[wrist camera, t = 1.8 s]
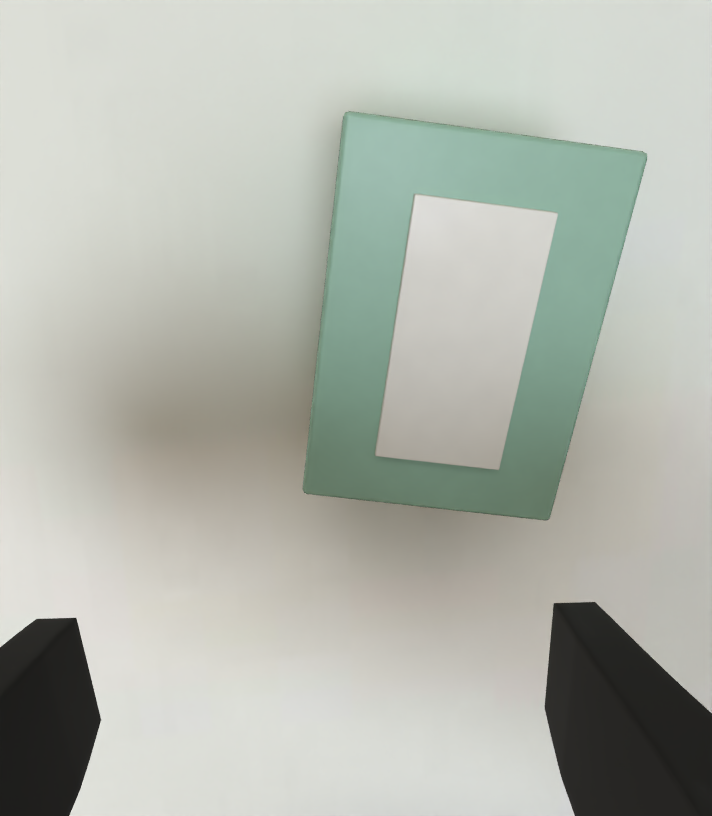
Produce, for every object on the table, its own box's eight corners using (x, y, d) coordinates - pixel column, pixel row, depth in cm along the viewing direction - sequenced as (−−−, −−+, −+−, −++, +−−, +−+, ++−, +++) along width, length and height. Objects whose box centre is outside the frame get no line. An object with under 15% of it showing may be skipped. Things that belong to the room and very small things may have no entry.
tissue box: (552, 145, 16) (654, 152, 11) (494, 409, 19) (552, 527, 13) (348, 117, 16) (343, 109, 11) (318, 388, 19) (301, 499, 13)
